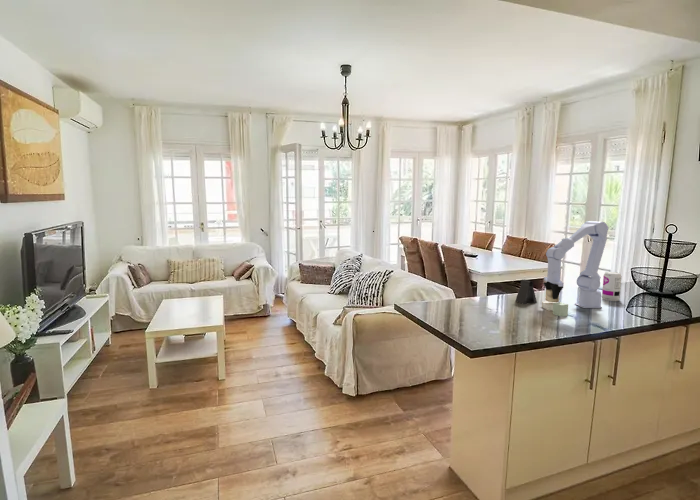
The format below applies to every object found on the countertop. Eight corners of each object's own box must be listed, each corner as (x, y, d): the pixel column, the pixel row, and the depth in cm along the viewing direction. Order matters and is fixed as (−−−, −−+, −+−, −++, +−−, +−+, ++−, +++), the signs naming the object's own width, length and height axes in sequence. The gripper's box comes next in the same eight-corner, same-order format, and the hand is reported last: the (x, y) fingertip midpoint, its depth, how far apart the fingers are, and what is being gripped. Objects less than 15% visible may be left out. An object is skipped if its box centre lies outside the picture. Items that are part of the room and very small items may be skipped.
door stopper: (528, 300, 216) (529, 278, 214) (536, 302, 210) (538, 280, 209) (515, 301, 213) (516, 279, 211) (523, 304, 207) (524, 282, 206)
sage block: (560, 313, 191) (560, 302, 190) (567, 315, 186) (568, 304, 186) (552, 313, 189) (553, 302, 189) (560, 316, 185) (560, 305, 184)
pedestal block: (555, 307, 202) (555, 301, 202) (562, 311, 195) (562, 305, 195) (541, 307, 202) (541, 301, 202) (547, 310, 196) (548, 305, 195)
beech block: (554, 300, 201) (554, 289, 200) (558, 302, 196) (559, 291, 195) (545, 300, 201) (545, 289, 200) (549, 302, 196) (550, 291, 195)
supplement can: (604, 300, 213) (606, 273, 211) (599, 297, 221) (601, 271, 219) (621, 302, 211) (624, 274, 209) (616, 298, 219) (618, 272, 217)
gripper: (538, 268, 204) (537, 294, 205) (554, 274, 189) (552, 301, 191) (552, 268, 204) (550, 294, 205) (568, 273, 189) (566, 301, 191)
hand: (552, 297), depth 198 cm, fingers closed on beech block, 4 cm apart
